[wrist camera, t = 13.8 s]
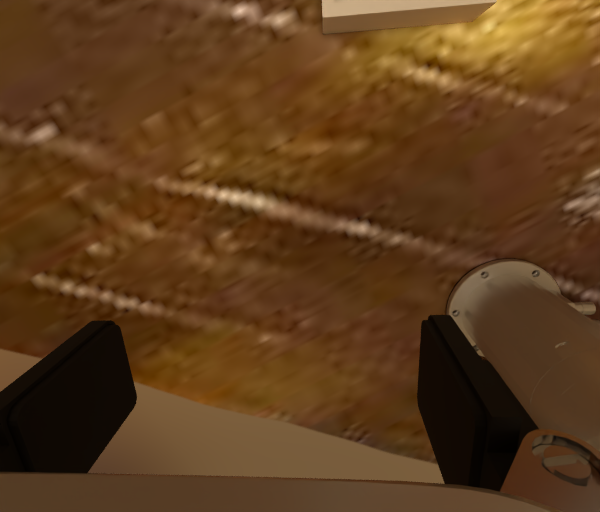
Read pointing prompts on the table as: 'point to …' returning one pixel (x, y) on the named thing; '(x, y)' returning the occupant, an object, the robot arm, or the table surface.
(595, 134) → the table surface
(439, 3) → the tub
